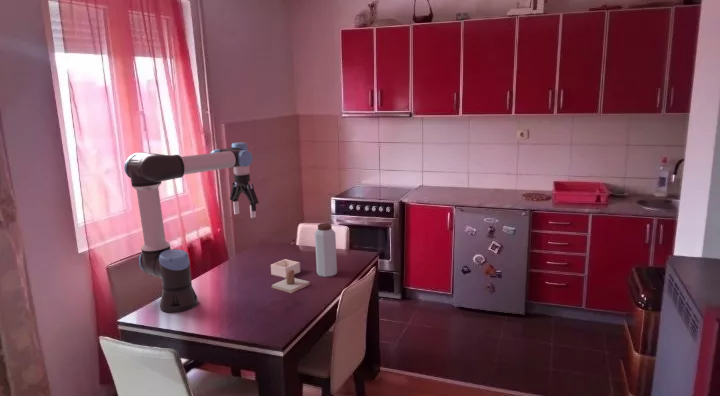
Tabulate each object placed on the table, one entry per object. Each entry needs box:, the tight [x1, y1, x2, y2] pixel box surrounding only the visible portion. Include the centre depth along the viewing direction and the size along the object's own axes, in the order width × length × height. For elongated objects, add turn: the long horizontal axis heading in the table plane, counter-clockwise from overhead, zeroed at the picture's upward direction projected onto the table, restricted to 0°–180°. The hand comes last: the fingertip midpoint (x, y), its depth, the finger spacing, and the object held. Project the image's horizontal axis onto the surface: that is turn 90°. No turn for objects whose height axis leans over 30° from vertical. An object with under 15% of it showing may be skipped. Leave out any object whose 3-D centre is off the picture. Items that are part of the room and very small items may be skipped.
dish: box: [270, 258, 301, 279], centre depth 249 cm, size 10×10×6 cm
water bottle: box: [314, 222, 338, 278], centre depth 244 cm, size 10×10×25 cm
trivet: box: [270, 283, 311, 294], centre depth 233 cm, size 13×13×1 cm
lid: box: [271, 269, 310, 294], centre depth 232 cm, size 12×12×7 cm
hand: (245, 215), depth 255 cm, fingers open, 13 cm apart
